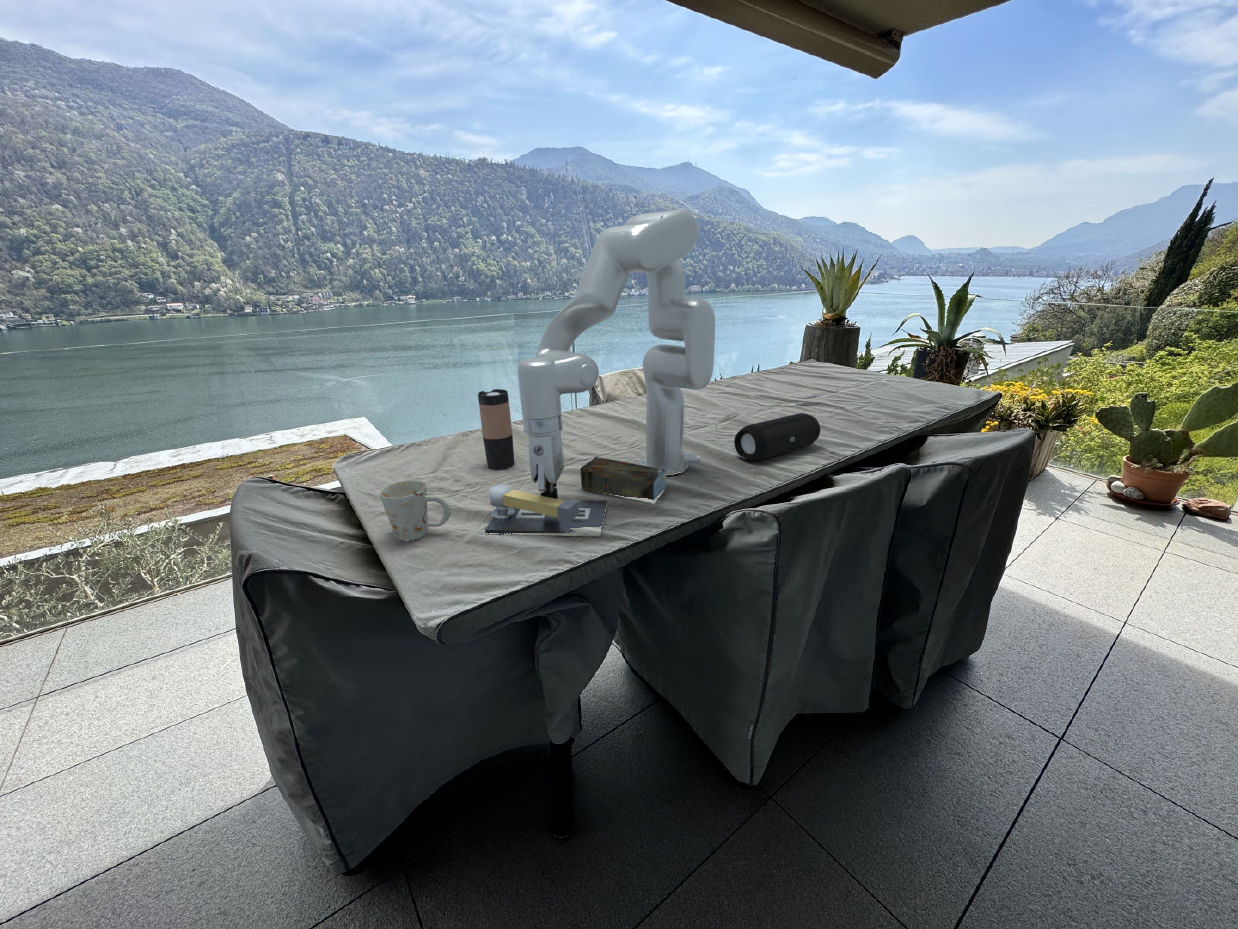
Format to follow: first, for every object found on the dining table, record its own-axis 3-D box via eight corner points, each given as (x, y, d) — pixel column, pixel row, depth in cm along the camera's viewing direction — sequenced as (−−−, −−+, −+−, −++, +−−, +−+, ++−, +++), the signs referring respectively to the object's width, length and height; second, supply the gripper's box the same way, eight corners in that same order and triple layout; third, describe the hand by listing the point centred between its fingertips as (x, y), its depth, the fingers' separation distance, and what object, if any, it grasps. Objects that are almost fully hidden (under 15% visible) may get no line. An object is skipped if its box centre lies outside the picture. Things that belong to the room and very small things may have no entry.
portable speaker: (757, 468, 125) (760, 431, 122) (730, 456, 133) (733, 422, 129) (820, 449, 137) (825, 416, 134) (792, 440, 145) (796, 408, 142)
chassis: (607, 504, 106) (606, 490, 105) (600, 537, 93) (599, 521, 92) (501, 502, 108) (499, 488, 107) (480, 534, 95) (478, 518, 94)
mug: (397, 524, 99) (388, 480, 95) (459, 521, 100) (452, 477, 96) (382, 545, 92) (372, 498, 88) (449, 542, 92) (441, 495, 89)
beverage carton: (654, 506, 106) (654, 479, 104) (579, 491, 114) (578, 465, 111) (666, 492, 113) (667, 466, 110) (595, 478, 120) (594, 454, 118)
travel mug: (508, 471, 125) (500, 396, 118) (481, 469, 127) (471, 395, 119) (519, 460, 132) (512, 389, 125) (494, 458, 134) (485, 388, 126)
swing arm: (579, 513, 95) (579, 499, 94) (568, 523, 91) (567, 509, 90) (499, 496, 103) (498, 483, 102) (486, 504, 99) (484, 491, 98)
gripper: (553, 435, 86) (560, 525, 93) (568, 412, 99) (574, 491, 106) (512, 435, 86) (522, 524, 93) (533, 412, 100) (541, 491, 107)
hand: (550, 506), depth 100 cm, fingers closed
